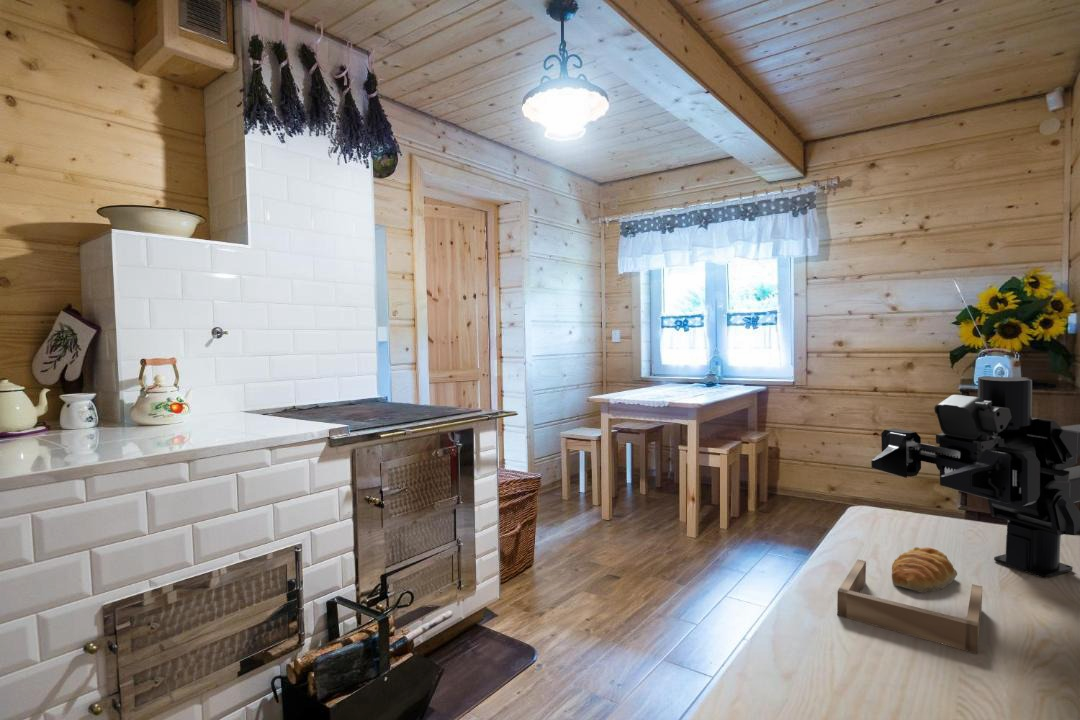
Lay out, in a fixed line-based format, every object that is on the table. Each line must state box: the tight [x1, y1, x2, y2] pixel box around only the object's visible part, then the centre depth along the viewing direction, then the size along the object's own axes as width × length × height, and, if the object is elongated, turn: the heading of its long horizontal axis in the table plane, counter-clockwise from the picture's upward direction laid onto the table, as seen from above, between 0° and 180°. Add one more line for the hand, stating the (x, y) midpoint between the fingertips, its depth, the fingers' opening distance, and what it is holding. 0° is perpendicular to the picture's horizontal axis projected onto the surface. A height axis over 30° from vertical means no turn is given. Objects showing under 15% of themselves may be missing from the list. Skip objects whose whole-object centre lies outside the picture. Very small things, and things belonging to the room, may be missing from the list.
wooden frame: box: [836, 559, 983, 654], centre depth 70 cm, size 12×14×3 cm
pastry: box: [891, 546, 958, 594], centre depth 79 cm, size 9×7×4 cm
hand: (904, 472), depth 73 cm, fingers open, 9 cm apart
